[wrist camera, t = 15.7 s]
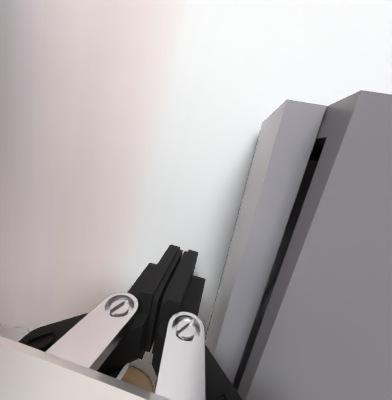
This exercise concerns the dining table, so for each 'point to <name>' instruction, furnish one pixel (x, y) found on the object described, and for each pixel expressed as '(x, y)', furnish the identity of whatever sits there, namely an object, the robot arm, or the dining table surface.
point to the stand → (137, 379)
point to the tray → (263, 230)
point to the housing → (335, 270)
